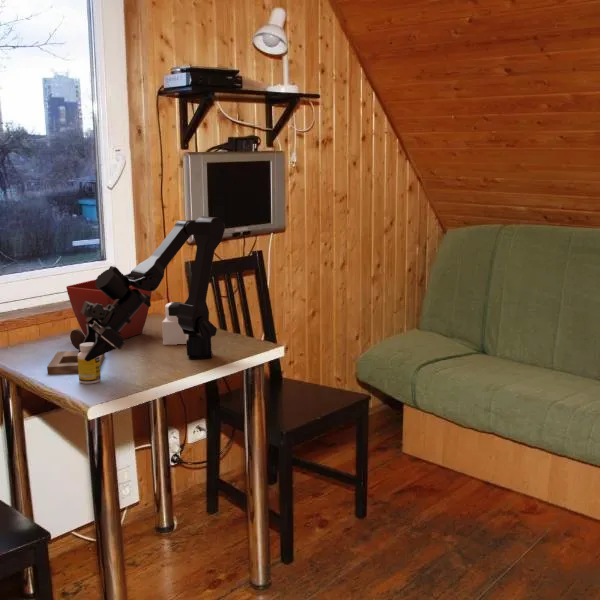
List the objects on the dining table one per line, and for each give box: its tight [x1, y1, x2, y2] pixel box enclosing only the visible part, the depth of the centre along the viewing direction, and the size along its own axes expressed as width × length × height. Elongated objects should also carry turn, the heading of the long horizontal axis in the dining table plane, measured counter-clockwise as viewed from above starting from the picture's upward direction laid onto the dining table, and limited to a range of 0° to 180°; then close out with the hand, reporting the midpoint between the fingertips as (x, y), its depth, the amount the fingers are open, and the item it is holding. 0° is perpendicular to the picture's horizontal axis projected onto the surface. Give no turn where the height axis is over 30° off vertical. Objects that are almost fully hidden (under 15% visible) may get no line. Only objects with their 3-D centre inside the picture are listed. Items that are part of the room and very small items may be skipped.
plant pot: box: [66, 279, 153, 340], centre depth 240 cm, size 19×19×17 cm
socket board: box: [46, 350, 106, 375], centre depth 212 cm, size 13×15×2 cm
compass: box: [69, 328, 85, 351], centre depth 226 cm, size 8×8×7 cm
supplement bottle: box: [78, 342, 102, 385], centre depth 196 cm, size 5×5×10 cm
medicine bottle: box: [161, 301, 188, 346], centre depth 233 cm, size 7×7×12 cm
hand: (82, 356), depth 195 cm, fingers open, 7 cm apart
